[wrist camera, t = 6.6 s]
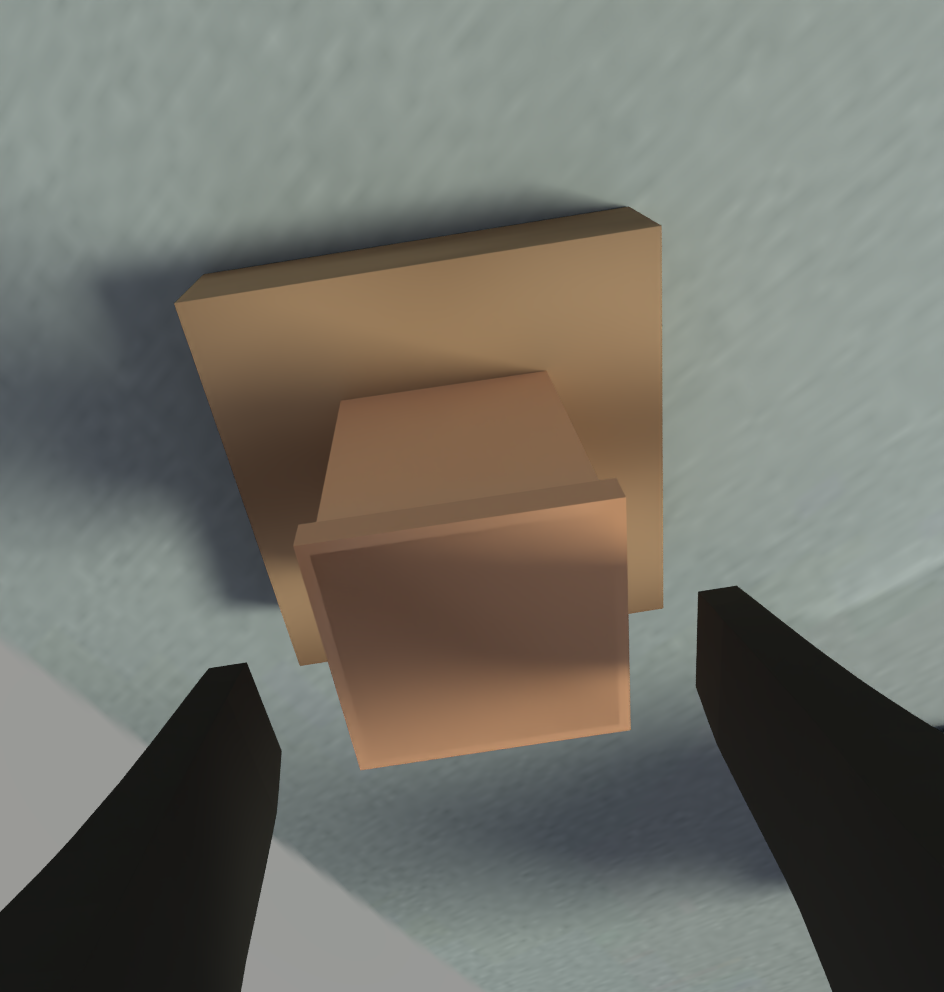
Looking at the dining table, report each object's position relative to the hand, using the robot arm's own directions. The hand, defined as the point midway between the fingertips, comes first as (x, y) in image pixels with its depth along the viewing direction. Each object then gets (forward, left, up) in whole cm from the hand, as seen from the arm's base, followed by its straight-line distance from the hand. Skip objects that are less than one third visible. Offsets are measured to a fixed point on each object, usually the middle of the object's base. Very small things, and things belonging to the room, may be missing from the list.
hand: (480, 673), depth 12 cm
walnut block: (0, 0, -9) cm, 9 cm away
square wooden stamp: (0, 0, -7) cm, 7 cm away
